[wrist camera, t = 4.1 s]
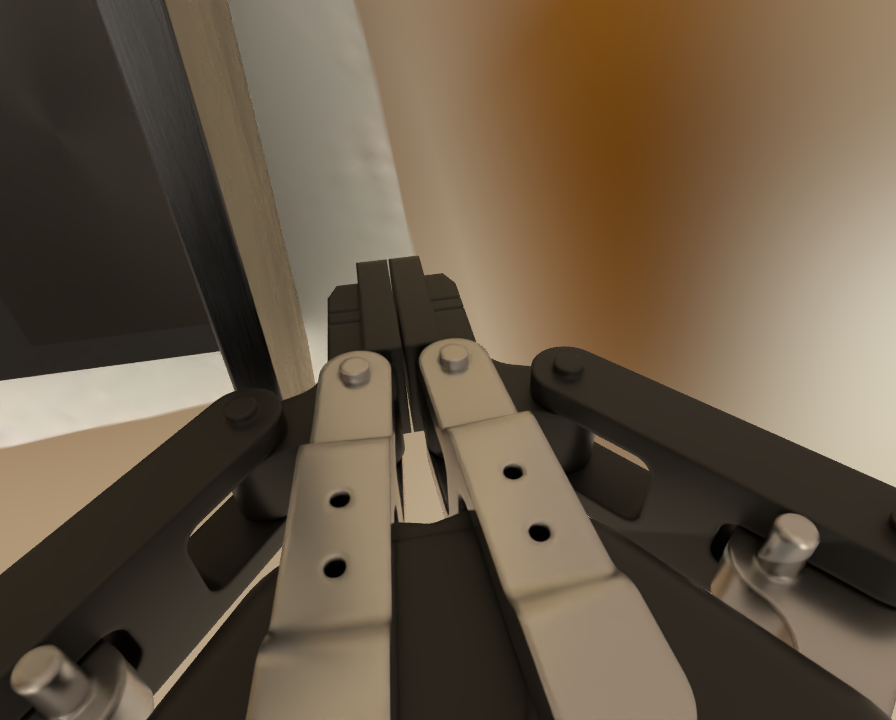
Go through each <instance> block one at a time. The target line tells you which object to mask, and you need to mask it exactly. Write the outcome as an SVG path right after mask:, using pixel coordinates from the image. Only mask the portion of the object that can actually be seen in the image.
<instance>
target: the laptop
mask: <svg viewBox="0 0 896 720" xmlns="http://www.w3.org/2000/svg"><path fill="white" fill-rule="evenodd" d="M217 351H220V349H219V346H218V343H217V341H216V338H215V335H214V332H213V330H212V327H211V324H210V322H209V319H208V316H207V313H206V311H205V308H204V305H203V302H202V300H201V297H200V294H199V291H198V289H197V286H196V283H195V280H194V278H193V275H192V272H191V269H190V267H189V264H188V261H187V259H186V256H185V253H184V250H183V248H182V245H181V242H180V239H179V237H178V234H177V231H176V228H175V226H174V223H173V220H172V217H171V215H170V212H169V209H168V206H167V204H166V201H165V198H164V196H163V193H162V190H161V187H160V185H159V182H158V179H157V176H156V174H155V171H154V168H153V165H152V163H151V160H150V157H149V154H148V152H147V149H146V146H145V143H144V141H143V138H142V135H141V133H140V130H139V127H138V124H137V122H136V119H135V116H134V113H133V111H132V108H131V105H130V102H129V100H128V97H127V94H126V91H125V89H124V86H123V83H122V80H121V78H120V75H119V72H118V70H117V67H116V64H115V61H114V59H113V56H112V53H111V50H110V48H109V45H108V42H107V39H106V37H105V34H104V31H103V28H102V26H101V23H100V20H99V17H98V15H97V12H96V9H95V7H94V4H93V1H92V0H0V381H1V380H9V379H16V378H24V377H31V376H39V375H46V374H53V373H61V372H68V371H76V370H83V369H91V368H98V367H106V366H113V365H120V364H128V363H135V362H143V361H150V360H158V359H165V358H172V357H180V356H187V355H195V354H202V353H210V352H217Z"/></svg>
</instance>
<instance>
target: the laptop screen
mask: <svg viewBox="0 0 896 720" xmlns="http://www.w3.org/2000/svg"><path fill="white" fill-rule="evenodd" d="M92 1H93V4H94V7H95V9H96V12H97V15H98V17H99V20H100V23H101V26H102V28H103V31H104V34H105V37H106V39H107V42H108V45H109V48H110V50H111V53H112V56H113V59H114V61H115V64H116V67H117V70H118V72H119V75H120V78H121V80H122V83H123V86H124V89H125V91H126V94H127V97H128V100H129V102H130V105H131V108H132V111H133V113H134V116H135V119H136V122H137V124H138V127H139V130H140V133H141V135H142V138H143V141H144V143H145V146H146V149H147V152H148V154H149V157H150V160H151V163H152V165H153V168H154V171H155V174H156V176H157V179H158V182H159V185H160V187H161V190H162V193H163V196H164V198H165V201H166V204H167V206H168V209H169V212H170V215H171V217H172V220H173V223H174V226H175V228H176V231H177V234H178V237H179V239H180V242H181V245H182V248H183V250H184V253H185V256H186V259H187V261H188V264H189V267H190V269H191V272H192V275H193V278H194V280H195V283H196V286H197V289H198V291H199V294H200V297H201V300H202V302H203V305H204V308H205V311H206V313H207V316H208V319H209V322H210V324H211V327H212V330H213V332H214V335H215V338H216V341H217V343H218V346H219V349H220V352H221V354H222V357H223V360H224V363H225V365H226V368H227V371H228V374H229V376H230V379H231V382H232V385H233V387H234V390H235V391H237V390H241V389H246V388H262V389H266V390H269V391H271V392H273V393H275V394H276V395H277V396H278V397H279V399H280V401H283V400H285V399H288V398H291V397H293V396H296V395H299V394H301V393H303V392H305V391H307V390H309V389H311V388H312V387H313V386H315V381H314V375H313V369H312V363H311V358H310V352H309V346H308V340H307V335H306V331H305V327H304V323H303V318H302V314H301V310H300V306H299V302H298V297H297V293H296V289H295V285H294V280H293V276H292V272H291V268H290V264H289V259H288V255H287V251H286V247H285V242H284V238H283V234H282V230H281V225H280V221H279V217H278V213H277V209H276V204H275V200H274V196H273V192H272V187H271V183H270V179H269V175H268V171H267V166H266V162H265V158H264V154H263V149H262V145H261V141H260V137H259V133H258V128H257V124H256V120H255V116H254V111H253V107H252V103H251V99H250V95H249V90H248V86H247V82H246V78H245V73H244V69H243V65H242V61H241V56H240V52H239V48H238V44H237V40H236V35H235V31H234V27H233V23H232V18H231V14H230V10H229V6H228V2H227V0H92Z"/></svg>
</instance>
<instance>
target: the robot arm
mask: <svg viewBox="0 0 896 720" xmlns="http://www.w3.org/2000/svg"><path fill="white" fill-rule="evenodd" d="M356 268H357V280H358V284H350V285H342V286H336V288H335V289H334V291H333V292H332V293H331V295H330V296H329V298H328V362H327V363H326V364H325V365H324V366H323V368H322V369H321V371H320V374H319V380H318V383H317V384H316V385H315V386H313V387H312V388H311V389H309V390H307V391H305V392H303V393H301V394H299V395H296V396H293V397H291V398H288V399H285V400H283V401H280V399H279V397H278V396H277V395H276V394H275V393H273V392H271V391H269V390H266V389H262V388H246V389H241V390H237V391H234V392H231V393H229V394H226V395H225V396H223V397H221V398H219V399H218V400H217V401H215V402H214V403H213V404H211V405H210V406H209V407H208V408H206V409H205V410H204V411H203V412H201V413H200V414H199V415H198V416H196V417H195V418H194V419H193V420H191V421H190V422H189V423H188V424H187V425H185V426H184V427H183V428H182V429H180V430H179V431H178V432H177V433H175V434H174V435H173V436H172V437H171V438H169V439H168V440H167V441H165V442H164V443H163V444H162V445H160V447H158V448H157V449H156V450H154V451H153V452H152V453H151V454H149V455H148V456H147V457H146V458H145V459H143V460H142V461H141V462H140V463H138V464H137V465H136V466H134V467H133V468H132V469H131V470H130V471H128V472H127V473H126V474H125V475H123V476H122V477H121V478H120V479H118V480H117V481H116V482H115V483H113V484H112V485H111V486H110V487H109V488H107V489H106V490H105V491H103V492H102V493H101V494H100V495H99V496H97V497H96V498H95V499H94V500H92V501H91V502H90V503H89V504H87V505H86V506H85V507H84V508H82V509H81V510H80V511H79V512H77V513H76V514H75V515H74V516H73V517H71V518H70V519H69V520H68V521H66V522H65V523H64V524H63V525H61V526H60V527H59V528H58V529H56V530H55V531H54V532H53V533H51V534H50V535H49V536H48V537H46V538H45V539H44V540H43V541H42V542H40V543H39V544H38V545H37V546H35V547H34V548H33V549H32V550H30V551H29V552H28V553H27V554H25V555H24V556H23V557H22V558H20V559H19V560H18V561H17V562H16V563H14V564H13V565H12V566H11V567H9V568H8V569H7V570H6V571H4V572H3V573H2V574H1V575H0V720H892V719H891V716H892V713H893V709H894V705H895V701H896V488H895V487H893V486H891V485H889V484H886V483H884V482H882V481H879V480H877V479H875V478H873V477H870V476H868V475H866V474H864V473H861V472H859V471H857V470H855V469H852V468H850V467H848V466H846V465H843V464H841V463H839V462H837V461H834V460H832V459H830V458H827V457H825V456H823V455H821V454H818V453H816V452H814V451H812V450H809V449H807V448H805V447H803V446H800V445H798V444H796V443H794V442H791V441H789V440H787V439H785V438H782V437H780V436H778V435H776V434H773V433H771V432H769V431H766V430H764V429H762V428H760V427H757V426H755V425H753V424H750V423H748V422H746V421H744V420H741V419H739V418H737V417H735V416H732V415H730V414H728V413H726V412H724V411H721V410H719V409H717V408H714V407H712V406H710V405H708V404H705V403H703V402H701V401H698V400H696V399H694V398H692V397H689V396H687V395H685V394H683V393H680V392H678V391H676V390H674V389H671V388H669V387H667V386H665V385H662V384H660V383H658V382H655V381H653V380H651V379H649V378H647V377H644V376H642V375H640V374H638V373H635V372H633V371H631V370H628V369H626V368H624V367H621V366H620V365H617V364H615V363H612V362H610V361H608V360H606V359H604V358H601V357H599V356H597V355H594V354H592V353H590V352H588V351H585V350H583V349H579V348H574V347H554V348H550V349H547V350H544V351H542V352H541V353H539V354H538V355H537V356H536V357H535V358H534V359H533V361H532V365H531V366H522V365H511V364H505V363H501V362H498V361H495V360H493V359H491V358H490V356H489V354H488V352H487V351H486V349H484V347H483V346H481V345H480V344H478V343H476V340H475V338H474V335H473V332H472V329H471V326H470V323H469V321H468V318H467V315H466V312H465V310H464V308H463V304H462V301H461V298H460V295H459V292H458V289H457V287H456V284H455V283H454V282H453V281H452V280H450V279H449V278H448V277H447V276H445V275H444V274H443V273H441V274H434V275H426V276H424V273H423V269H422V266H421V262H420V259H419V256H411V257H403V258H394V259H389V269H390V277H391V283H390V277H389V272H388V266H387V260H378V261H369V262H360V263H356ZM391 286H392V289H391ZM392 294H393V295H392ZM406 387H407V390H406ZM407 393H408V399H409V405H410V410H411V417H412V423H413V429H414V432H417V431H424V432H425V438H426V445H427V454H428V462H429V465H430V469H431V472H432V476H433V479H434V482H435V486H436V489H437V493H438V496H439V500H440V503H441V507H442V510H443V513H444V517H445V519H443V520H441V521H438V522H435V523H431V524H422V523H406V510H405V509H406V507H405V484H404V483H405V482H404V463H403V454H404V450H405V446H404V438H403V434H405V433H411V427H410V417H409V408H408V399H407ZM595 434H596V435H598V436H599V437H601V438H603V439H605V440H607V441H609V442H611V443H613V444H615V445H616V446H618V447H620V448H622V449H624V450H626V451H628V452H630V453H632V454H634V455H635V456H637V457H639V458H640V459H641V460H642V461H643V462H644V463H645V464H646V465H647V467H648V469H649V471H648V470H646V469H644V468H642V467H640V466H638V465H637V464H635V463H633V462H631V461H629V460H627V459H625V458H624V457H621V456H620V455H618V454H616V453H614V452H612V451H611V450H609V449H607V448H605V447H603V446H601V445H599V444H598V443H596V442H594V437H595ZM231 492H232V493H233V495H232V496H231V497H230V498H229V499H228V500H227V501H226V502H225V503H224V504H223V505H222V506H221V507H220V508H219V509H218V510H217V511H216V512H215V513H214V514H213V515H212V516H211V517H210V518H209V519H208V520H207V521H206V522H205V523H204V524H203V525H202V526H201V527H200V528H199V529H198V530H197V531H196V532H195V533H194V534H193V535H192V536H191V537H190V535H191V533H192V532H193V530H194V529H195V527H196V526H197V525H198V524H199V523H200V522H201V521H202V520H203V519H204V518H205V517H206V516H207V515H208V514H209V513H210V512H211V511H212V510H213V509H214V508H215V507H216V506H217V505H218V504H219V503H220V502H222V501H223V500H224V499H225V498H226V497H227V496H228V495H229V494H230V493H231ZM588 516H589V517H591V518H589V517H588ZM189 537H190V538H189ZM282 546H283V547H282ZM281 547H282V553H281V559H280V565H279V566H278V567H276V568H275V569H274V570H272V571H271V572H270V573H269V574H268V575H266V576H265V577H264V578H263V579H261V580H260V581H259V582H258V583H257V584H256V585H255V586H254V587H253V588H252V590H250V591H249V593H248V594H247V595H246V596H245V597H244V599H243V600H242V601H241V602H240V604H239V605H238V606H237V607H236V609H235V610H234V611H233V612H232V614H231V615H230V616H229V617H228V618H227V620H226V621H225V622H224V623H223V625H222V626H221V627H220V629H219V630H218V631H217V632H216V633H215V635H214V636H213V637H212V638H211V640H210V641H209V642H208V643H207V645H206V646H205V647H204V648H203V649H202V651H201V652H200V653H199V654H198V656H197V657H196V658H195V659H194V661H193V662H192V663H191V664H190V666H189V667H188V668H187V669H186V671H185V672H184V673H183V674H182V676H181V677H180V678H179V679H178V681H177V682H176V683H175V684H174V686H173V687H172V688H171V689H170V691H169V692H168V693H167V694H166V695H165V697H164V698H163V699H162V700H161V702H160V703H159V704H158V705H157V707H156V708H155V709H154V698H153V696H154V694H155V693H156V692H157V691H158V690H159V688H161V686H162V685H163V684H164V683H165V682H166V680H167V679H168V678H169V677H170V676H171V675H172V674H173V672H174V671H175V670H176V669H177V668H178V667H179V665H180V664H181V663H182V662H183V661H184V659H186V657H187V656H188V655H189V654H190V653H191V652H192V650H193V649H194V648H195V647H196V646H197V645H198V643H199V642H200V641H201V640H202V639H203V638H204V636H205V635H206V634H207V633H208V632H209V631H210V630H211V628H212V627H213V626H214V625H215V624H216V623H217V621H218V620H219V619H220V618H221V617H222V615H223V614H224V613H225V612H226V611H227V610H228V609H229V607H230V606H231V605H232V604H233V603H234V601H235V600H236V599H237V598H238V597H239V596H240V595H241V594H242V592H243V591H244V590H245V589H246V587H248V585H249V584H250V583H251V582H252V581H253V580H254V578H255V577H256V576H257V575H258V574H259V573H260V571H261V570H262V569H263V568H264V567H265V565H266V564H267V563H268V562H269V561H270V560H271V559H272V558H273V556H274V555H275V554H276V553H277V552H278V550H279V549H280V548H281ZM702 587H703V588H702ZM705 589H706V590H705ZM708 591H709V592H708ZM710 592H711V593H712V594H711V593H710Z"/></svg>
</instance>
